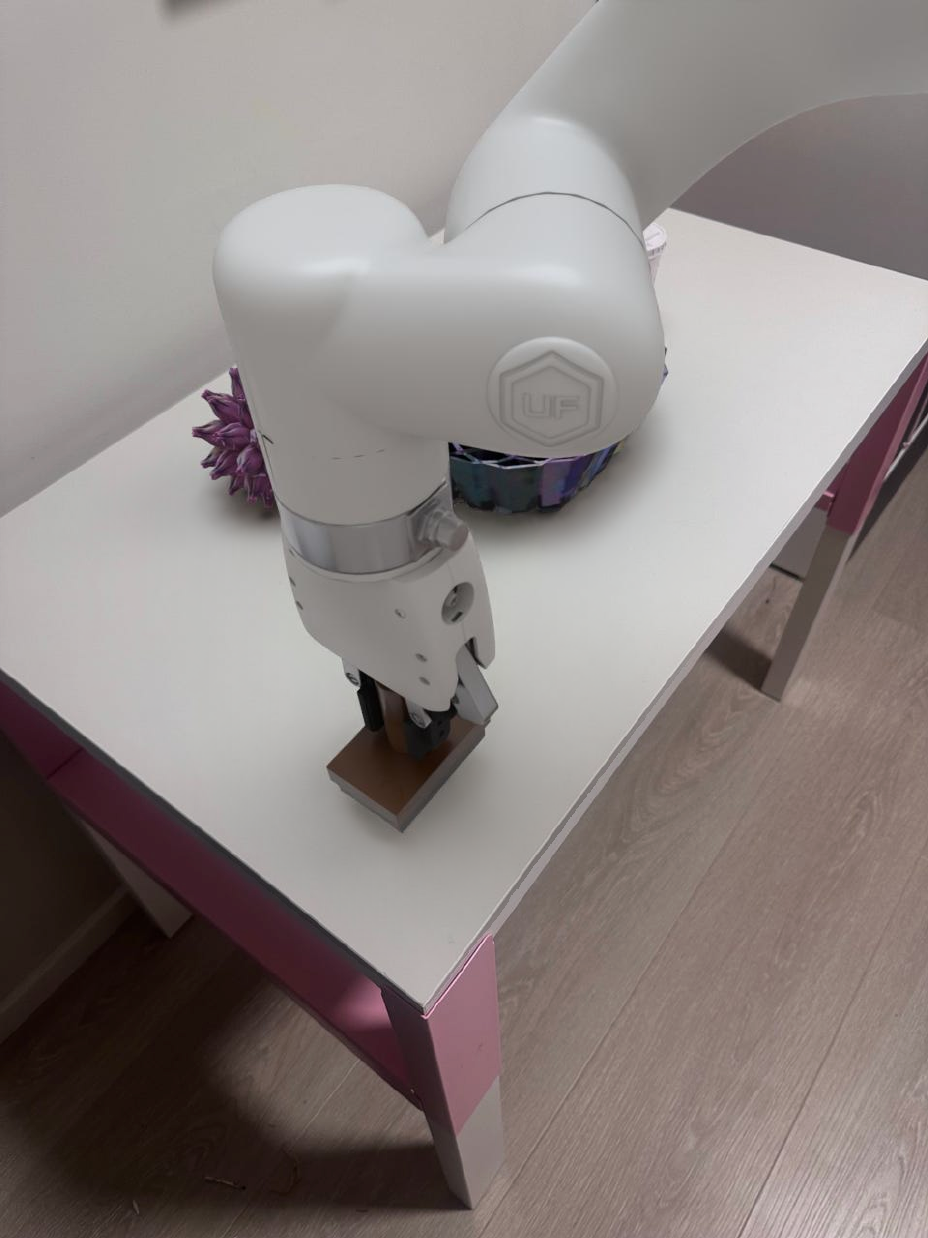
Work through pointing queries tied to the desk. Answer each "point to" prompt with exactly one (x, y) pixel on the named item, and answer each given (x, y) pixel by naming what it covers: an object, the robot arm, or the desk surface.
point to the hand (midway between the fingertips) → (408, 726)
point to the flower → (235, 443)
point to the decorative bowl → (522, 477)
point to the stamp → (399, 764)
